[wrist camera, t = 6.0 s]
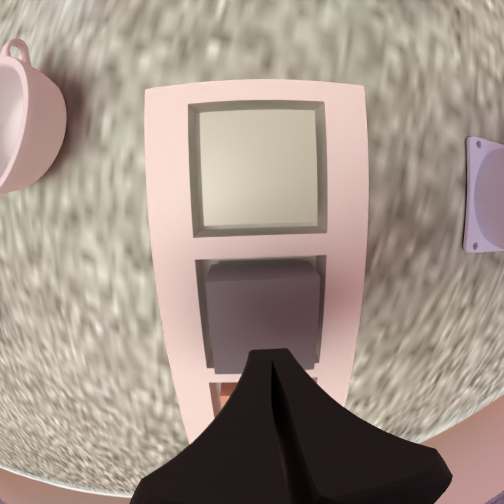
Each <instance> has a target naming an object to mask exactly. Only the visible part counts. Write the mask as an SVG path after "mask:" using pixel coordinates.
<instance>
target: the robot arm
mask: <svg viewBox="0 0 504 504" xmlns="http://www.w3.org/2000/svg"><path fill="white" fill-rule="evenodd" d="M466 143H467V207H466V222H465V234H464V243H463V249H464V251H465V252H467V253H481V252H496V251H504V145H503V144H500V143H497V142H493V141H490V140H486V139H483V138H479V137H475V136H469V137H468V138H467V142H466ZM477 144H478V147H477ZM473 245H474V247H473ZM452 476H453V475H452V474H451V472H450V470H449V469H448V467H447V465H446V463H445V461H444V460H443V458H442V457H441V455H440V454H439V453H438V451H437V450H436V449H434V448H431V447H427V446H424V445H420V444H417V443H414V442H410V441H407V440H404V439H402V438H399V437H397V436H394V435H392V434H390V433H387V432H385V431H383V430H381V429H379V428H377V427H375V426H373V425H371V424H370V423H368V422H366V421H364V420H362V419H361V418H359V417H357V416H356V415H354V414H353V413H351V412H350V411H348V410H347V409H346V408H344V407H343V406H342V405H340V404H339V403H338V402H337V401H335V400H334V399H333V398H332V397H331V396H330V395H329V394H327V393H326V392H325V391H324V390H323V389H322V388H321V387H320V386H319V385H318V384H317V383H316V382H315V381H314V380H313V379H312V378H311V377H310V375H309V374H308V373H307V372H306V371H305V370H304V369H303V367H302V366H301V365H300V364H299V363H298V361H297V360H296V359H295V357H294V356H293V354H292V353H291V352H290V350H289V349H287V348H278V349H258V350H251V351H250V352H249V353H248V359H247V362H246V365H245V368H244V370H243V373H242V375H241V377H240V379H239V381H238V383H237V385H236V387H235V389H234V390H233V392H232V394H231V395H230V397H229V399H228V400H227V402H226V403H225V405H224V406H223V408H222V409H221V411H220V412H219V413H218V415H217V416H216V417H215V418H214V420H213V421H212V422H211V423H210V424H209V425H208V427H207V428H206V429H205V430H204V431H203V432H202V433H201V434H200V435H199V436H198V437H197V438H196V439H195V440H194V441H193V442H192V443H191V444H190V445H189V446H187V447H186V448H185V449H184V450H183V451H181V452H180V453H179V454H178V455H177V456H175V457H174V458H173V459H172V460H170V461H169V462H168V463H166V464H165V465H163V466H161V467H160V468H158V469H157V470H155V471H154V472H152V473H151V474H149V475H147V476H146V477H144V478H142V479H141V481H140V483H139V484H138V486H137V488H136V490H135V492H134V495H133V497H132V499H131V501H130V504H434V503H435V502H436V501H437V500H438V499H439V497H440V496H441V495H442V494H443V493H444V492H445V491H446V489H447V488H448V486H449V485H450V483H451V481H452ZM0 504H6V503H5V502H4V501H3V500H2V499H0ZM485 504H504V491H503V492H501V493H500V494H498V495H497V496H495V497H494V498H492V499H491V500H489V501H488V502H486V503H485Z"/></svg>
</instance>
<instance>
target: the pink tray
mask: <svg viewBox="0 0 504 504" xmlns="http://www.w3.org/2000/svg"><path fill="white" fill-rule="evenodd" d="M246 110H299V111H315V126H316V152H317V222H301V223H264V224H235V225H210V226H204V216H203V197H202V175H201V146H200V113H207V112H223V111H246ZM145 167H146V187H147V203H148V216H149V228H150V238H151V248H152V257H153V265H154V273H155V281H156V288H157V295H158V301H159V308H160V314H161V320H162V326H163V332H164V337H165V342H166V348H167V353H168V358H169V363H170V367H171V372H172V377H173V381H174V386H175V390H176V394H177V398H178V402H179V407H180V411H181V414H182V418H183V422H184V426H185V429H186V433H187V437H188V440H189V444H191V443H192V442H193V441H194V440H195V439H196V438H197V437H198V436H199V435H200V434H201V433H202V432H203V431H204V430H205V429H206V428H207V427H208V425H209V424H210V423H211V422H212V421H213V420H214V418H215V417H216V416H217V415H218V413H219V412H220V411H221V409H222V407H221V399H220V392H221V382H238V381H239V379H240V377H241V375H242V374H215V370H214V362H213V354H212V345H211V336H210V326H209V316H208V306H207V295H206V284H205V281H206V278H207V276H208V273H209V270H210V267H211V265H212V264H237V263H264V262H290V261H309V262H310V263H311V265H312V266H313V268H314V269H315V270H316V272H317V273H318V274H319V276H320V277H321V278H320V298H319V315H318V330H317V343H316V354H315V365H314V369H313V370H305V371H306V372H307V373H308V374H309V375H310V377H311V378H312V379H313V380H314V381H315V382H316V383H317V384H318V385H319V386H320V387H321V388H322V389H323V390H324V391H325V392H326V393H327V394H329V395H330V396H331V397H332V398H333V399H334V400H335V401H337V402H338V403H339V404H340V405H342V406H343V407H344V408H345V403H346V399H347V394H348V389H349V384H350V379H351V373H352V368H353V362H354V356H355V350H356V343H357V337H358V330H359V322H360V314H361V306H362V297H363V287H364V277H365V264H366V250H367V231H368V197H369V170H368V136H367V119H366V105H365V93H364V86H360V85H353V84H344V83H334V82H322V81H307V80H281V79H251V80H225V81H210V82H198V83H188V84H180V85H172V86H164V87H157V88H151V89H145Z"/></svg>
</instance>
